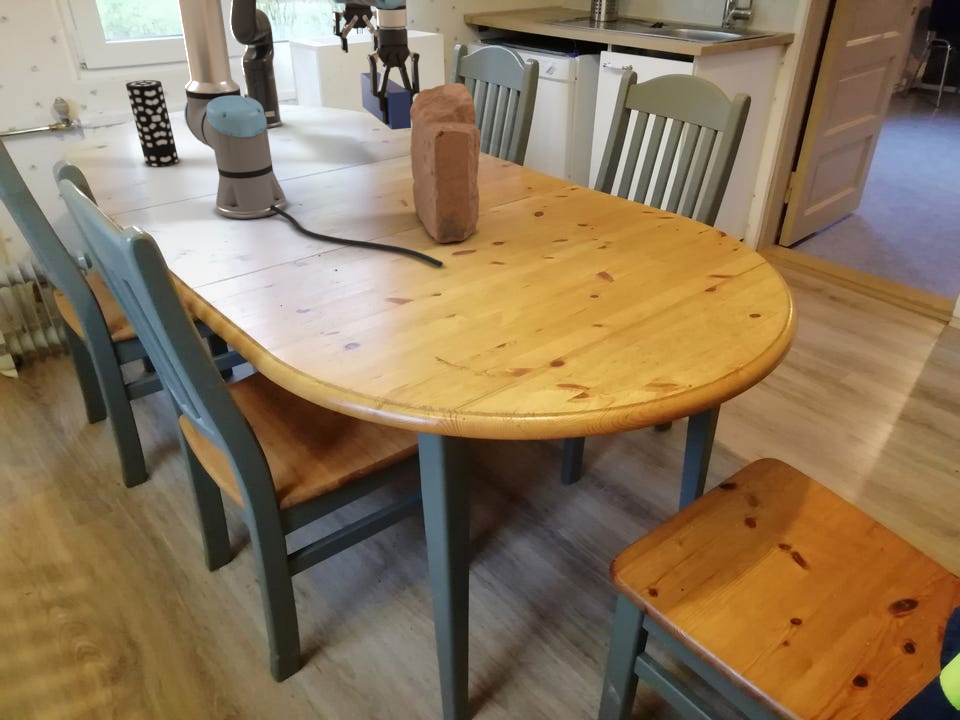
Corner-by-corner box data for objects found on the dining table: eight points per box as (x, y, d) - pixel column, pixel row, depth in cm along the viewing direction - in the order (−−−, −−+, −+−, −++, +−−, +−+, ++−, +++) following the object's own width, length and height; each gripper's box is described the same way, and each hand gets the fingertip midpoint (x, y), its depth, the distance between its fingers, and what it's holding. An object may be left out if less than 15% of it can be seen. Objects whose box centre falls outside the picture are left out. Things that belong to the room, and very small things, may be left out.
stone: (490, 240, 143) (490, 97, 128) (437, 246, 140) (432, 100, 125) (459, 208, 160) (457, 80, 146) (412, 214, 157) (405, 83, 143)
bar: (411, 128, 184) (409, 91, 179) (391, 129, 182) (390, 92, 177) (380, 105, 205) (378, 72, 200) (362, 106, 203) (360, 73, 198)
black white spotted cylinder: (184, 157, 190) (167, 80, 179) (169, 166, 183) (151, 87, 172) (155, 156, 190) (136, 79, 179) (139, 165, 183) (119, 86, 172)
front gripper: (421, 24, 179) (424, 116, 192) (352, 27, 173) (359, 122, 185) (431, 28, 174) (433, 122, 186) (360, 30, 167) (367, 128, 180)
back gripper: (375, -15, 194) (378, 48, 203) (326, -14, 188) (331, 50, 197) (385, -12, 188) (388, 52, 197) (335, -11, 183) (340, 55, 191)
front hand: (396, 122), depth 186 cm, fingers closed on bar, 5 cm apart
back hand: (359, 51), depth 197 cm, fingers open, 8 cm apart
